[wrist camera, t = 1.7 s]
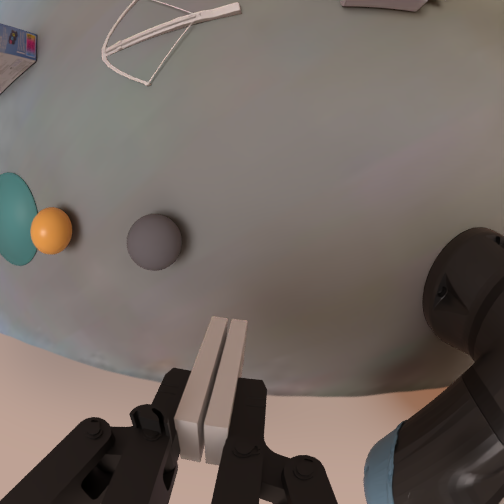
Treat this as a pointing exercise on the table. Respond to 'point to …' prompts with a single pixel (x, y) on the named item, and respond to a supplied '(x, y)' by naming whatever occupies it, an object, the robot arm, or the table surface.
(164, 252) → the dark grey ball
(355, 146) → the table surface
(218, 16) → the crossbow
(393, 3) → the charger
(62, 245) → the object ball
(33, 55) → the ink cartridge box
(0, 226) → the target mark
